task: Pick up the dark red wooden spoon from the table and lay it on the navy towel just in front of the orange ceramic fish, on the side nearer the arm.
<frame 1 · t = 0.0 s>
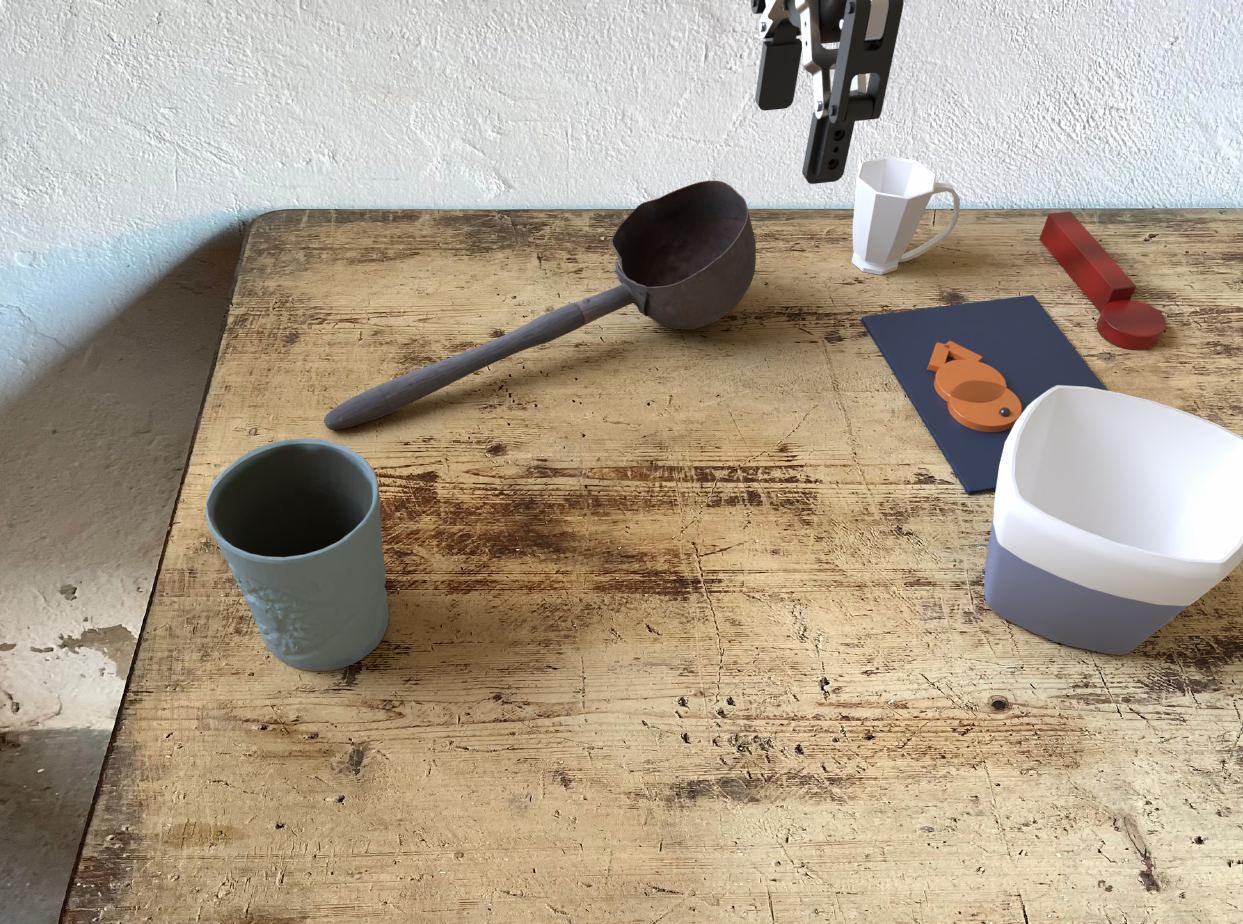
hand: (796, 141, 65), 25 cm above the table, tool pointing down, fingers open, 8 cm apart
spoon: (1099, 297, 99), on the table
ladle: (543, 362, 93), on the table
bowl: (1066, 589, 78), on the table
blue green tumbler: (326, 627, 76), on the table
cup: (890, 262, 102), on the table
towel: (1002, 388, 91), on the table
fish: (973, 401, 90), resting on towel
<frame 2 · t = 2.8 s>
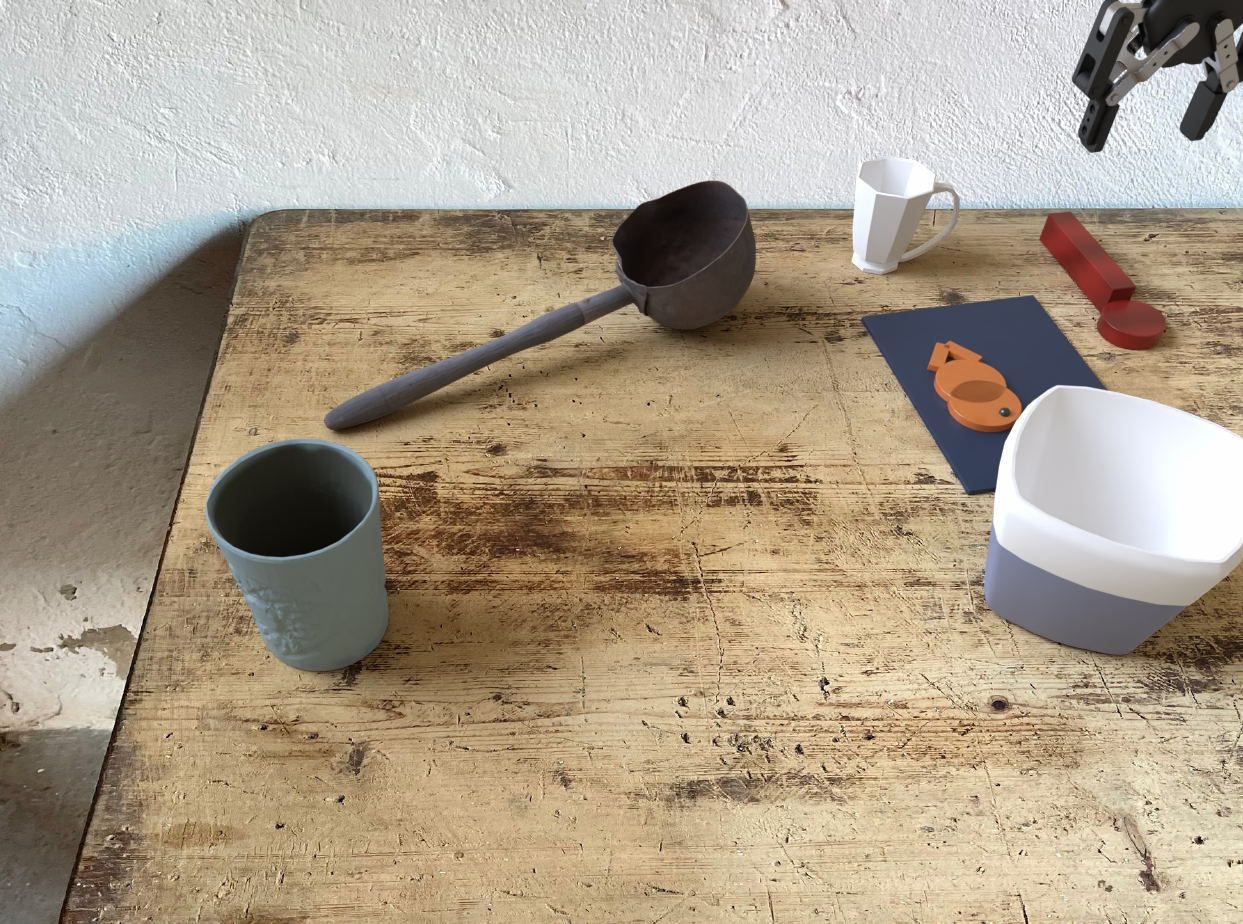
hand: (1140, 141, 87), 14 cm above the table, tool pointing down, fingers open, 8 cm apart
nothing on the table moved.
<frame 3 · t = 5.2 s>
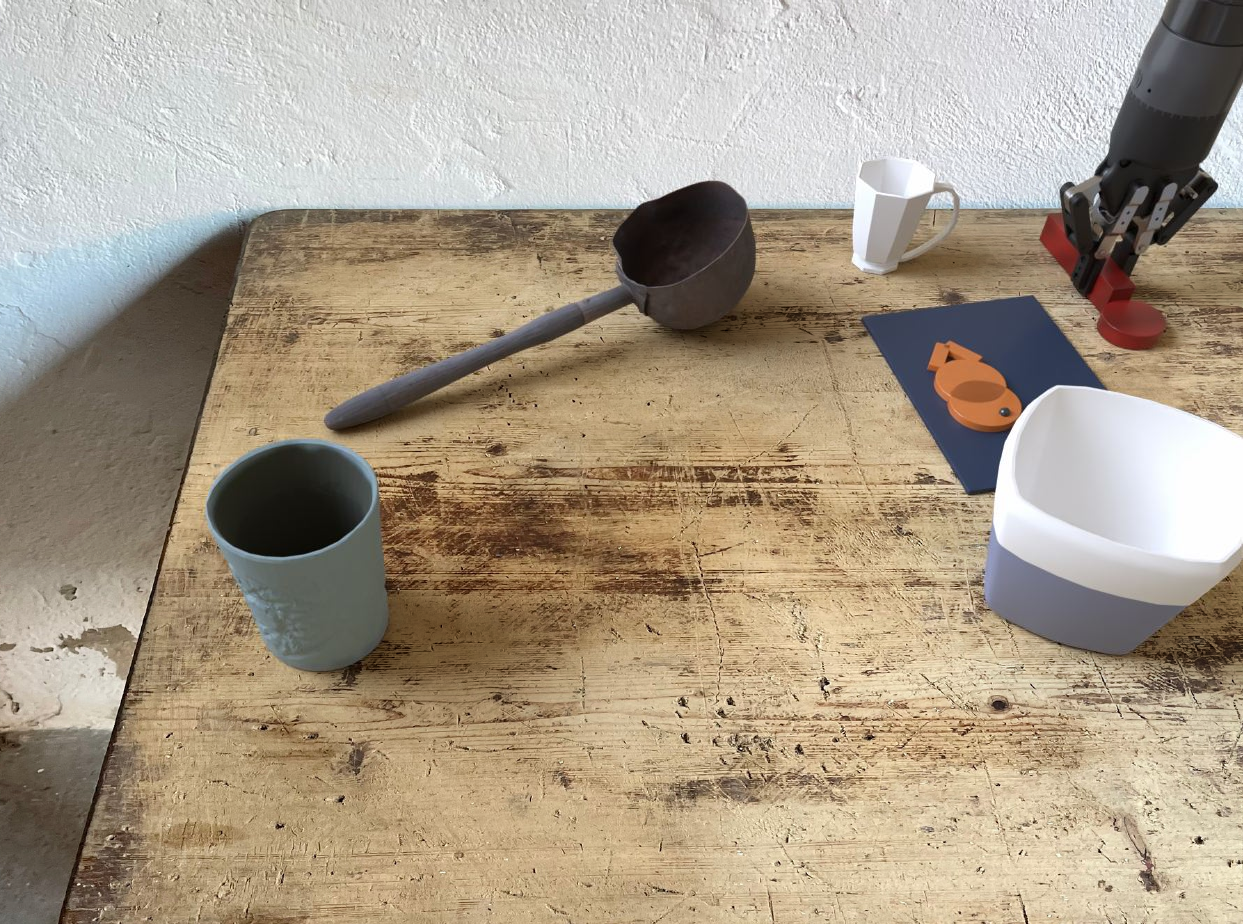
hand: (1095, 287, 99), 0 cm above the table, tool pointing down, fingers closed on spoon, 2 cm apart
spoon: (1099, 297, 99), on the table, touching gripper
everything else where it was.
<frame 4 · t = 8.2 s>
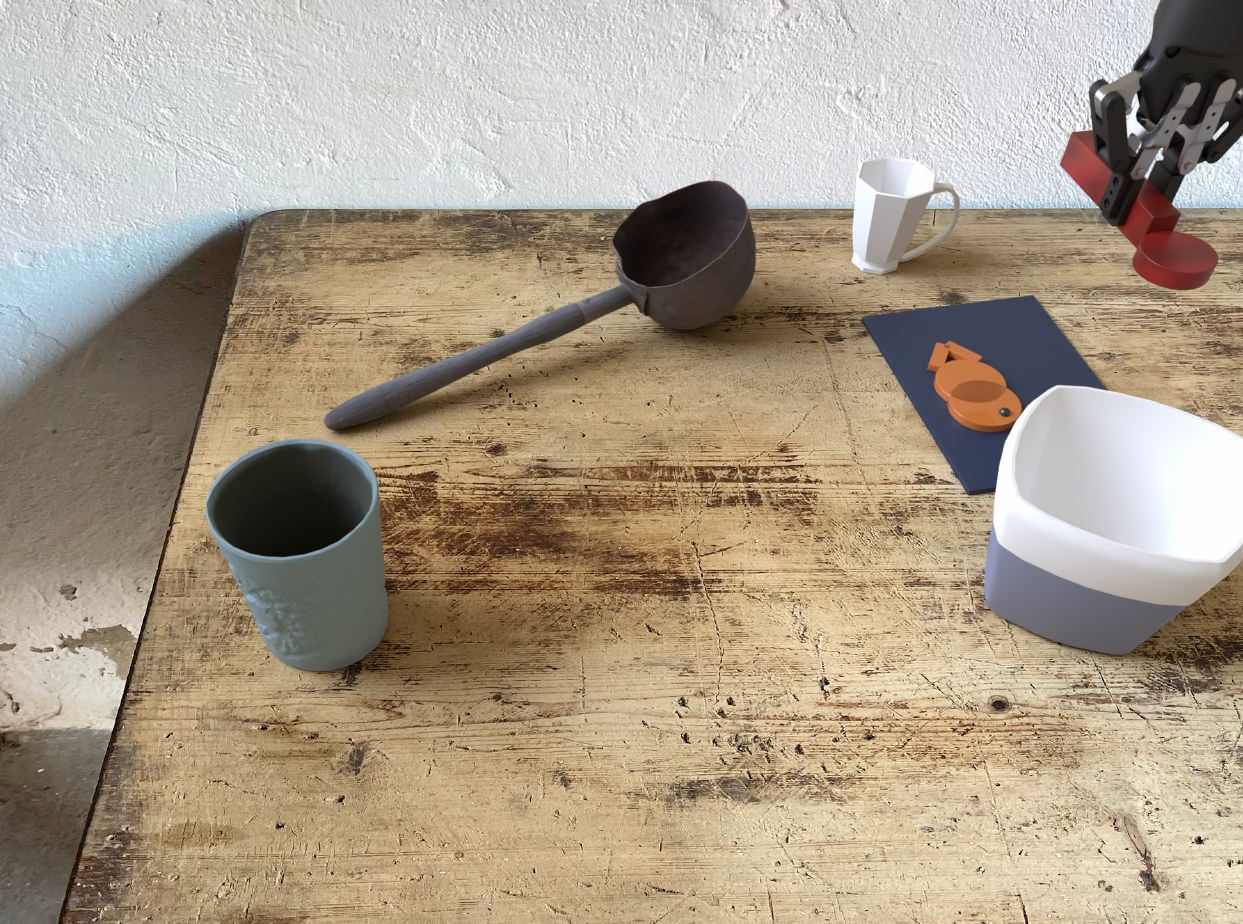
hand: (1129, 217, 81), 14 cm above the table, tool pointing down, fingers closed on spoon
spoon: (1133, 230, 81), point 13 cm above the table, touching gripper
everything else where it was.
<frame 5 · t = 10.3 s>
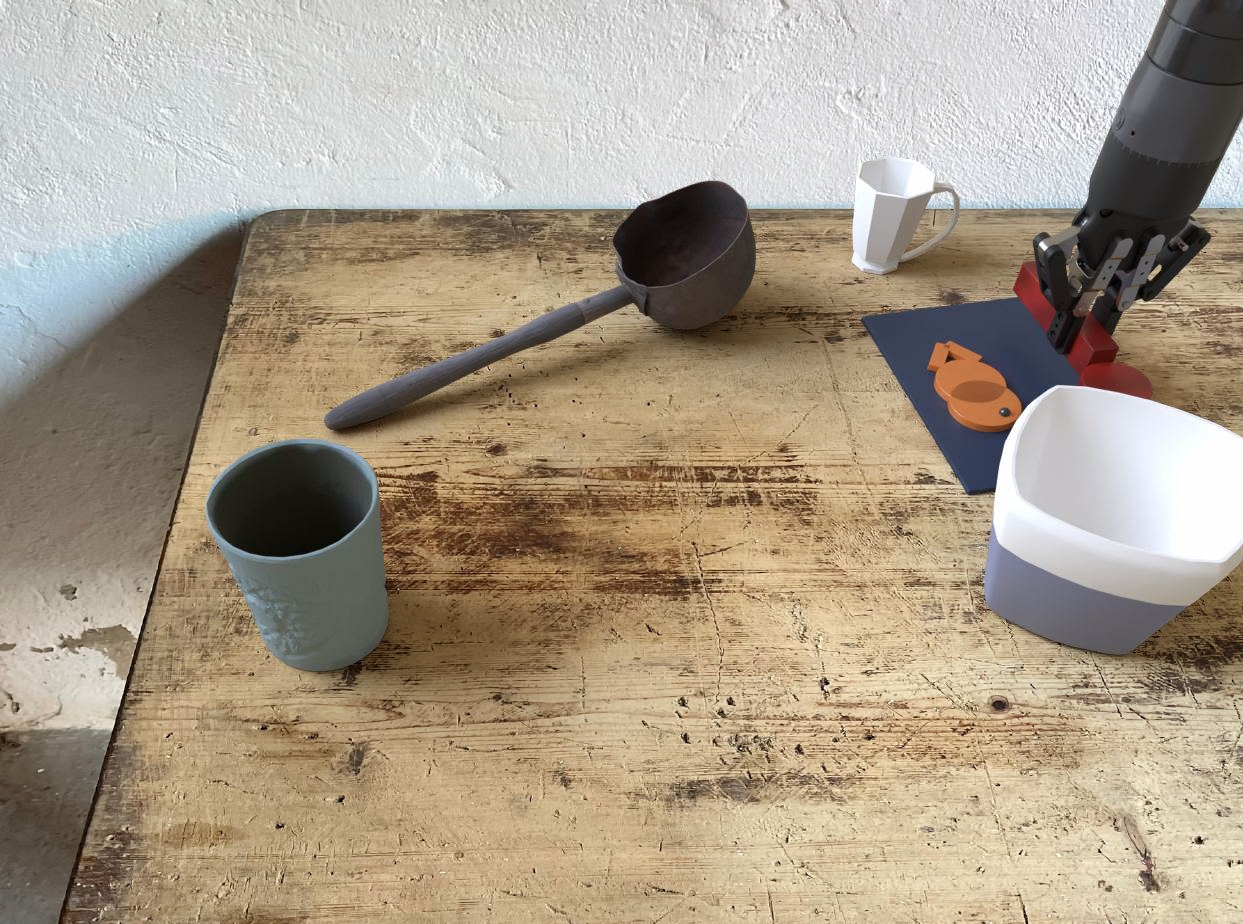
hand: (1074, 345, 89), 4 cm above the table, tool pointing down, fingers closed on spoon
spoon: (1078, 357, 88), point 3 cm above the table, touching gripper
everything else where it was.
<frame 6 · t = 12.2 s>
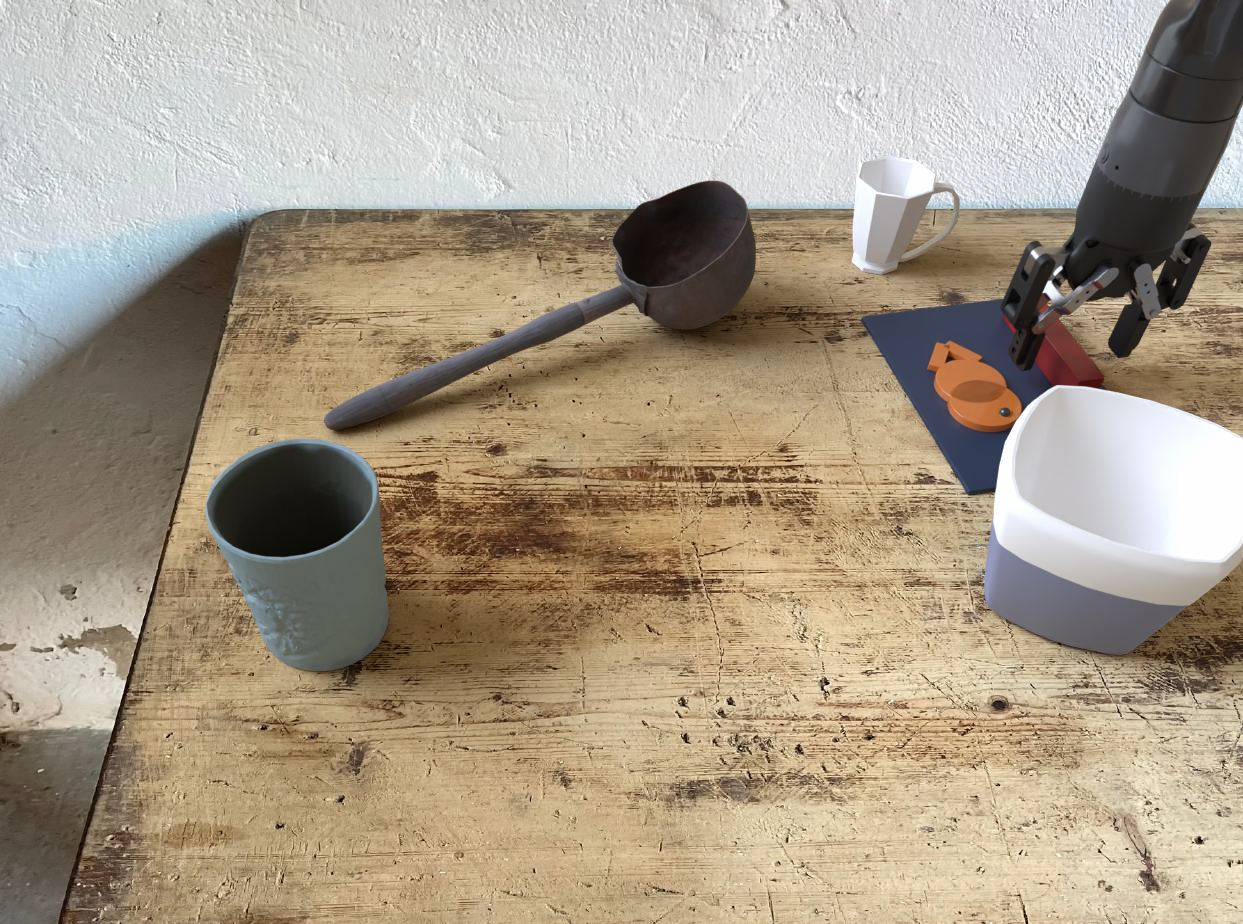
hand: (1068, 358, 90), 2 cm above the table, tool pointing down, fingers open, 8 cm apart
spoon: (1065, 385, 91), resting on towel
everything else where it was.
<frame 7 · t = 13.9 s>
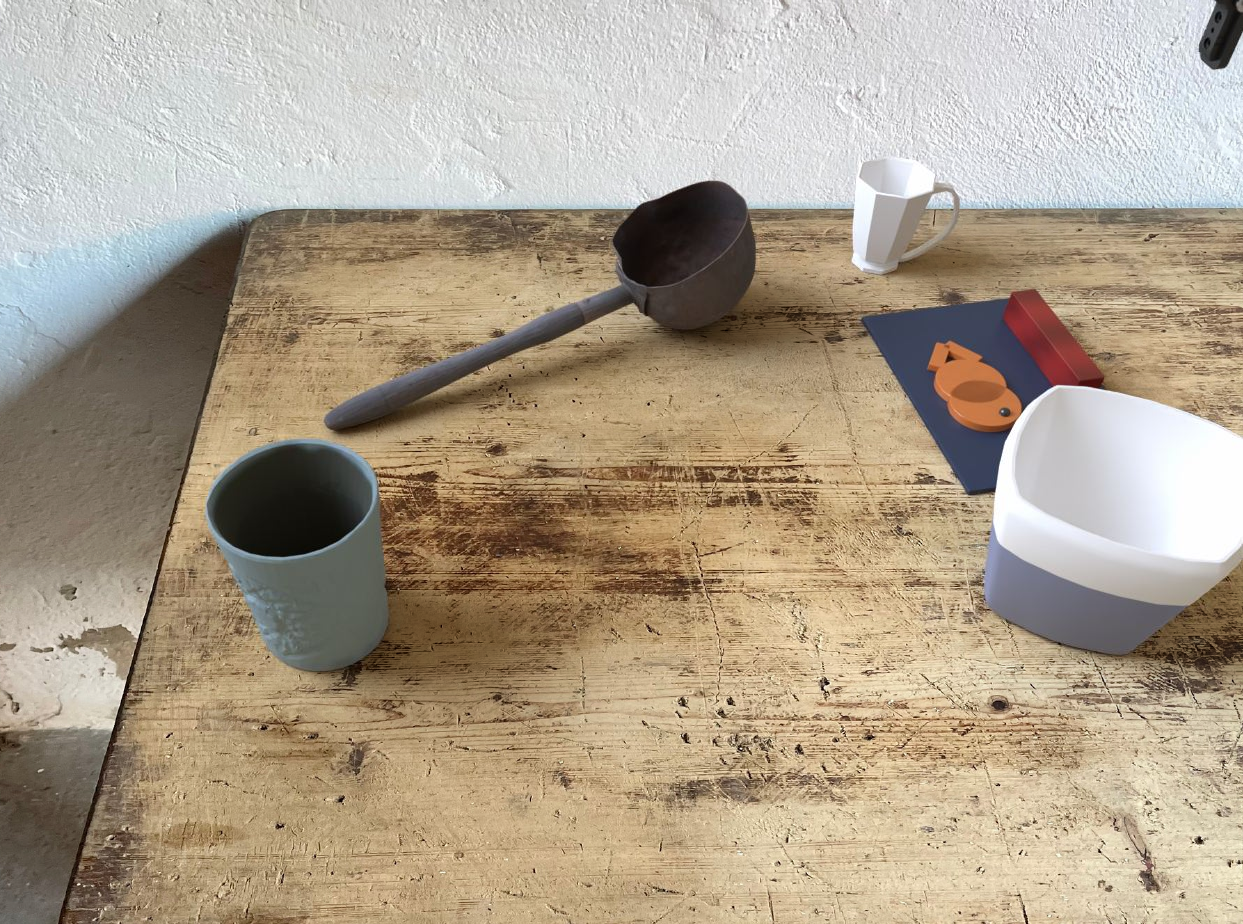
nothing on the table moved.
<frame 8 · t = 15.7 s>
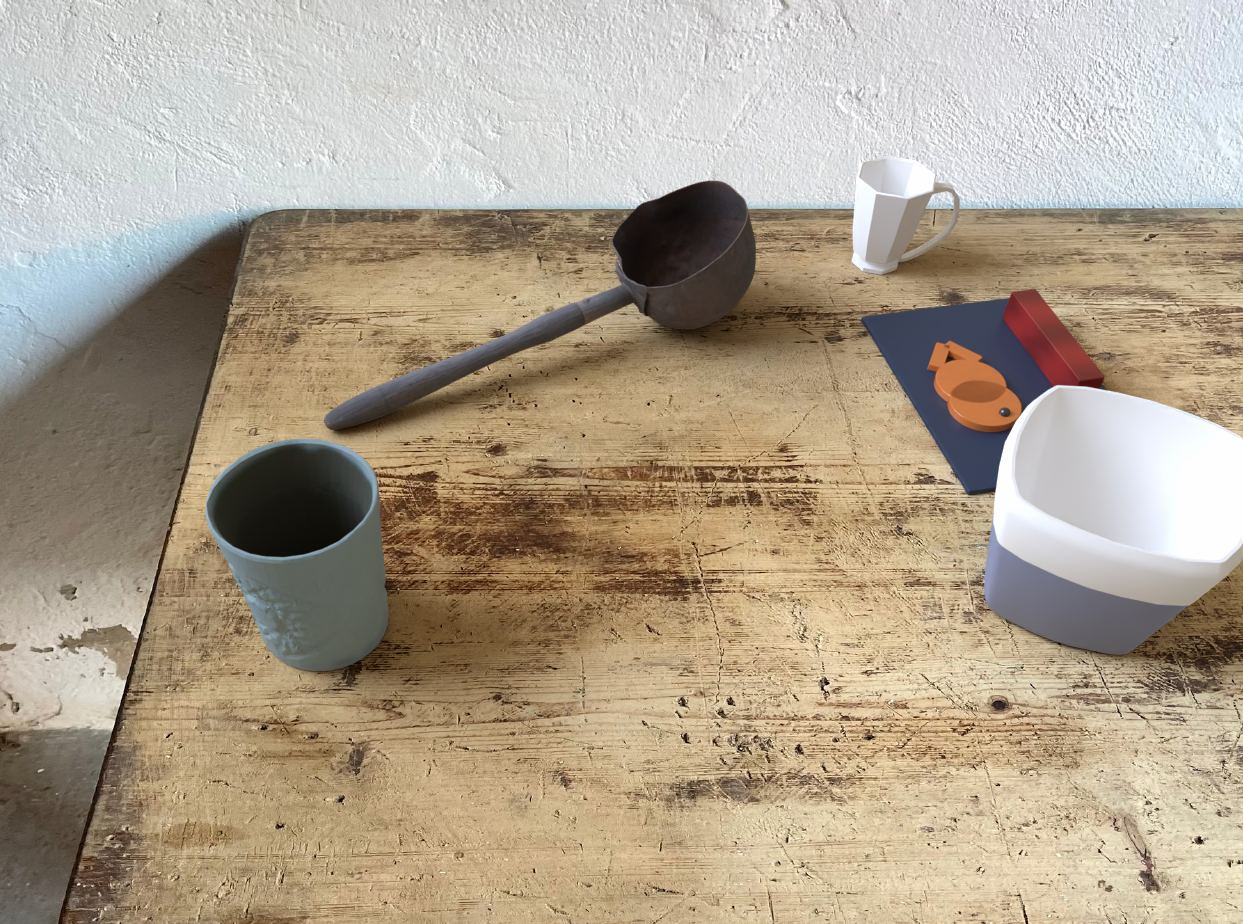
nothing on the table moved.
at the end: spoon inside the target area on the table beside the fish (0.1 cm from its centre), resting on towel; the gripper is holding nothing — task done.
